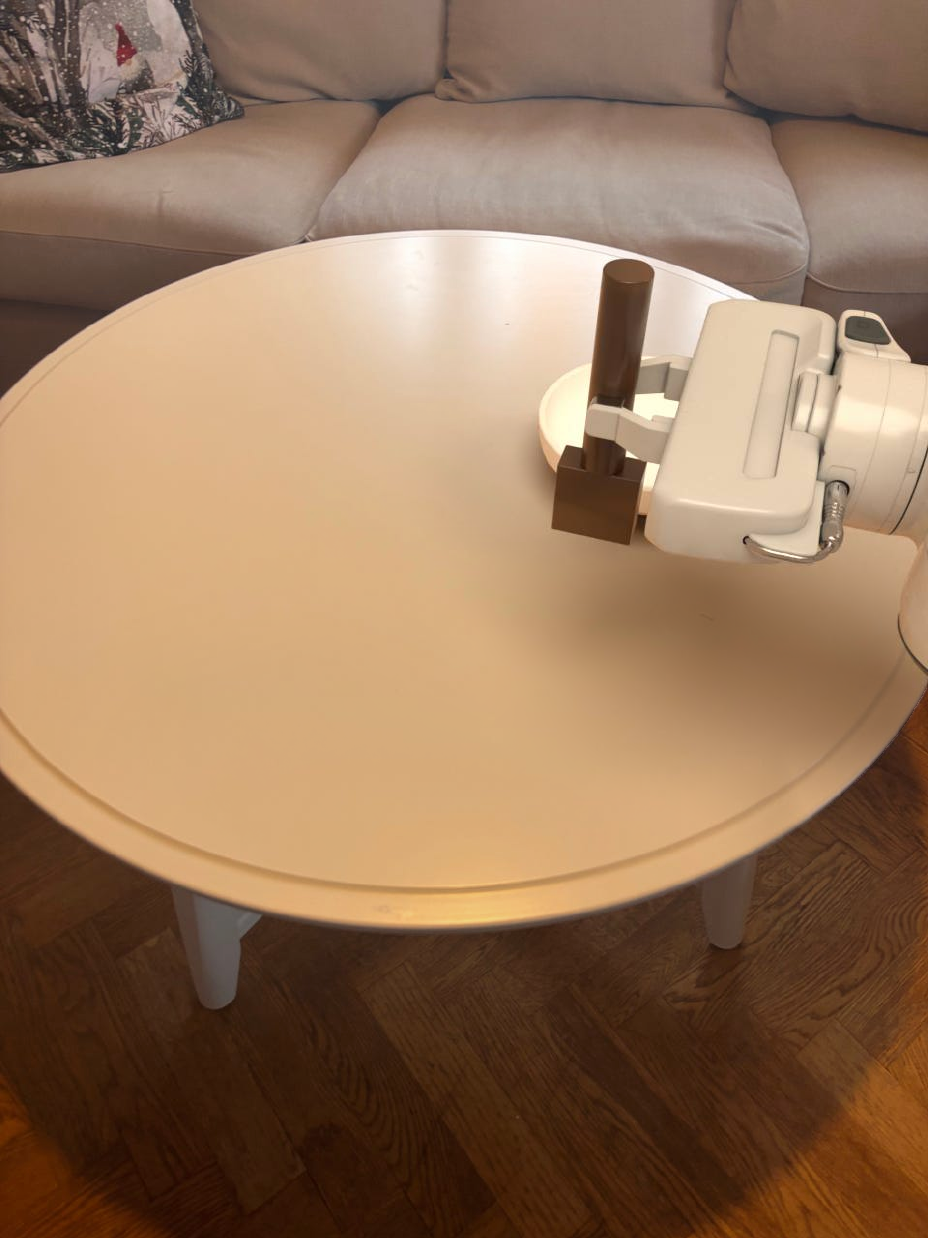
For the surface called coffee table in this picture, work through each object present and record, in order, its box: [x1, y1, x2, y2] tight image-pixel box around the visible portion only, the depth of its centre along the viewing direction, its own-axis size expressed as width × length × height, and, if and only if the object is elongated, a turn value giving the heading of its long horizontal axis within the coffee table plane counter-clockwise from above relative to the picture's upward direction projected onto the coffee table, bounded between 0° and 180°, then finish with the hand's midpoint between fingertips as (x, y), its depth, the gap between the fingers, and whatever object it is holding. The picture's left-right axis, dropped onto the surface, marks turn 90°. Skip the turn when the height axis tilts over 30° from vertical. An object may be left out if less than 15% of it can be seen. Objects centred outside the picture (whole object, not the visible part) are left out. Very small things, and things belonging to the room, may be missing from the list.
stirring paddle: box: [550, 258, 656, 546], centre depth 55 cm, size 5×3×17 cm, turn 72°
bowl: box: [537, 355, 679, 516], centre depth 84 cm, size 20×20×7 cm
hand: (596, 394), depth 54 cm, fingers closed on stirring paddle, 2 cm apart
